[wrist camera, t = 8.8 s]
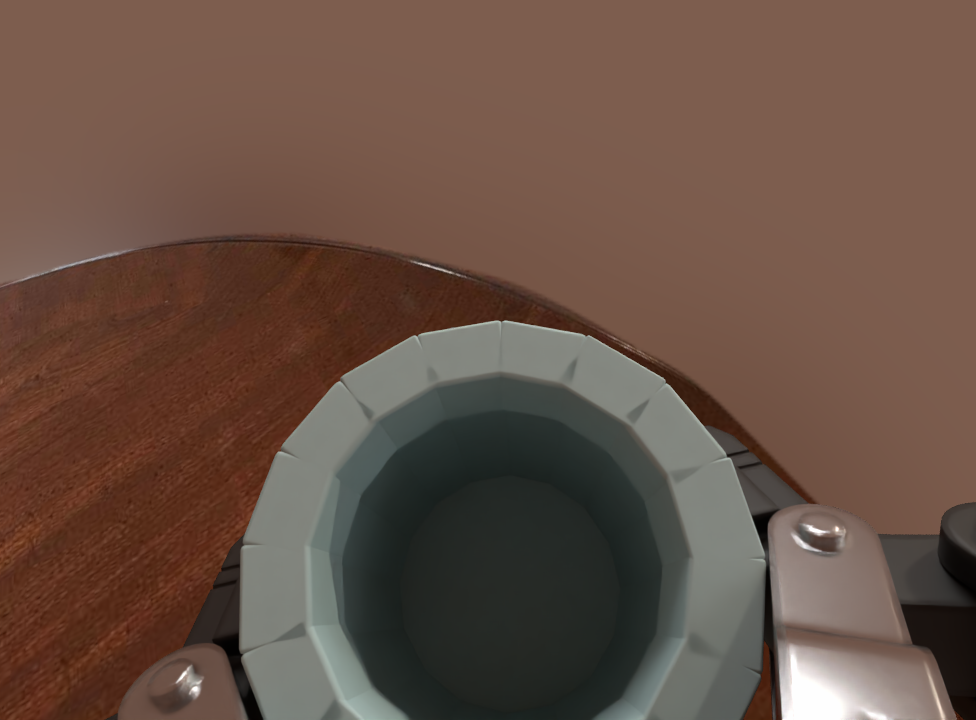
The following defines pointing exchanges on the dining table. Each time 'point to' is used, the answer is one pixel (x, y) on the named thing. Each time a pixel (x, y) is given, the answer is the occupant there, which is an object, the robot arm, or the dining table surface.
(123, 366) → the dining table surface
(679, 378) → the dining table surface
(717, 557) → the cylindrical container
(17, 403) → the dining table surface
